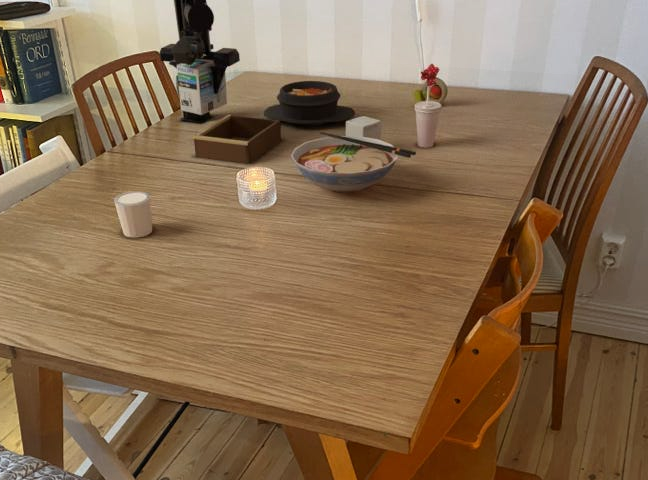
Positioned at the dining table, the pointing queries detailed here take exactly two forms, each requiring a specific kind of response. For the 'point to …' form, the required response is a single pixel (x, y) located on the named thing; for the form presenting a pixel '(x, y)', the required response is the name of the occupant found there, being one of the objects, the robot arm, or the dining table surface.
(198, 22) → the robot arm
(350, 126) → the product box
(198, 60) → the light bulb box
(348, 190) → the ramen bowl
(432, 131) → the smoothie
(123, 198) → the shot glass
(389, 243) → the dining table surface
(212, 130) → the wooden box
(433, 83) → the multicoloured rounded piece
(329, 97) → the casserole
